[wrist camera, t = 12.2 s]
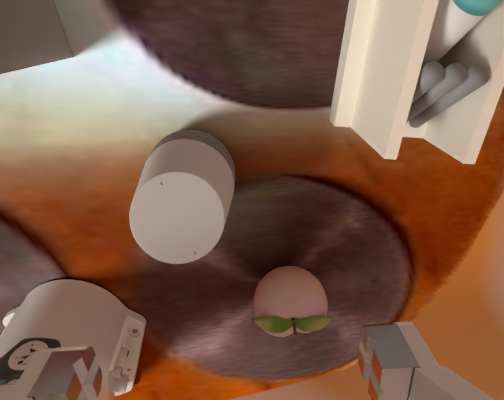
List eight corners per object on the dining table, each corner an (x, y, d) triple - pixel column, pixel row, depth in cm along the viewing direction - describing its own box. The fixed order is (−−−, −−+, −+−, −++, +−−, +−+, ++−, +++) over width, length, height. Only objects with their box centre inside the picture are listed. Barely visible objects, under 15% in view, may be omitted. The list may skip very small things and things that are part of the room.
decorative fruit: (315, 242, 47) (334, 295, 38) (321, 291, 50) (340, 350, 42) (243, 255, 47) (245, 310, 38) (254, 302, 51) (259, 363, 42)
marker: (421, 88, 34) (519, -3, 24) (389, 92, 34) (475, 0, 23) (411, 57, 35) (501, -45, 25) (379, 60, 35) (457, -43, 24)
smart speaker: (246, 187, 43) (251, 257, 30) (173, 210, 44) (149, 286, 31) (218, 111, 39) (210, 155, 26) (138, 138, 40) (94, 192, 27)
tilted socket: (425, 126, 41) (497, 167, 29) (328, 120, 40) (365, 159, 29) (468, -19, 34) (579, -38, 23) (354, -31, 34) (413, -55, 23)
